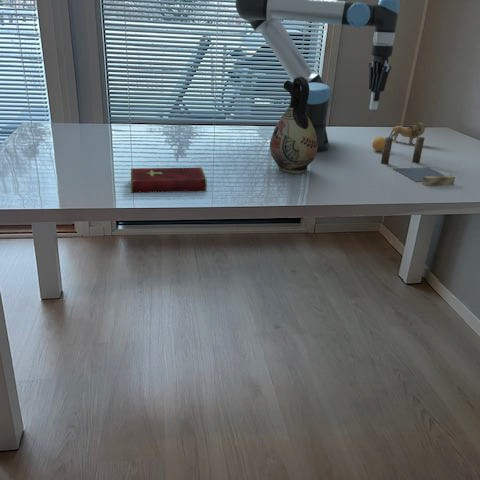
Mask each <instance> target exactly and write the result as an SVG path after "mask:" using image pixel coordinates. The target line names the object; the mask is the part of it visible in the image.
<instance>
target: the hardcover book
mask: <svg viewBox="0 0 480 480" xmlns="http://www.w3.org/2000/svg"><path fill="white" fill-rule="evenodd" d="M207 183H208V180H207V177H206V175H205V172H204V169H203V167H201V166H198V167H154V168H153V167H147V168H145V167H144V168H142V167H141V168H140V167H138V168H137V167H134V168H132V167H131V168H130V191H131V192H130V193H131V194H135V193H136V194H137V193H142V194H143V193H173V192H174V193H175V192H176V193H177V192H178V193H180V192H182V193H183V192H187V193H188V192H207V190H208V186H207V185H208V184H207Z"/></svg>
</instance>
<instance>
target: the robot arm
mask: <svg viewBox="0 0 480 480" xmlns="http://www.w3.org/2000/svg"><path fill="white" fill-rule="evenodd" d="M400 4H401V3H400V0H378V2H377V3H376V4H371V3H370V4H369V3H365V2H360V1H358V2H355V1H354V2H353V1H345V0H235V9H236V11H237V14H238V15H239V17H240V18H241V19H242V20H244V21H247V22H248V24H249V25H250V26H251V28H252V29H253V31H254V32H255V33H259V34H261V36H262V37H263V39H264V40H265V42H266V43H267V45H268V46H269V48H270V50H271V51H272V53H273V55H274V56H275V57H276V58H277V60H278V62H279V63H280V65H281V67H282V68H283V69H284V72H285V73H286V74H287V76H288V77H289V79H290V80H291V83H293V81H294V79H295V78H297V77H304V78H305V79H306V80H307V82H308V84H309V97H308V101H307V107H306V114H307V116H308V117H309V119H310V121H311V123H312V125H313V127H314V130H315V133H316V137H317V153H319V152H326V151H327V150H328V149H329V145H330V144H329V137H328V132H327V122H328V113H329V107H330V106H331V104H332V101H333V93H332V90H331V87H330V86H329V85H328V84H326V83H325V82H324V81H325V80H323V79H322V77H321V75H320V74H319V72H318V73H317V72H313V70H312V69H311V67H310V65H309V63H308V62H307V61H306V59H305V57H304V56H303V54H302V53H301V51H300V50H299V48H298V47H297V45H296V43H295V41H294V40H293V39H292V37H291V35H290V34H289V32H288V31H287V29H286V28H285V26H284V24H283V23H282V21H281V20H290V21H291V20H292V21H300V22H307V23H308V22H309V23H318V24H320V23H321V24H329V25H337V26H338V25H339V26H346V27H354V28H362V27H369V28H370V27H371V28H373V27H374V31H373V32H374V33H373V39H372V43H373V44H372V45H371V46H372V47H371V52H370V53H371V54H370V55H371V56H373V60H372V62H369V63H368V68H369V69H368V70H369V75H368V77H369V79H368V89H369V90H370V92H371V95H370V102H369V106H368V107H369V110H374V111H375V110H378V107H379V100H380V94H381V92H384V91H385V88H386V85H387V80H388V77H389V74H390V71H391V70H392V65H389V57H391V56H392V54H393V49H394V46H393V45H394V42H395V37H396V30H397V24H398V19H399V15H400V14H399V10H400Z"/></svg>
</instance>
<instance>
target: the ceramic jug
mask: <svg viewBox="0 0 480 480" xmlns="http://www.w3.org/2000/svg"><path fill="white" fill-rule="evenodd" d="M283 89H284V90H285V91H286V92H288V93H289V95H290V101H289V102H290V104H289V106H288V107H287V109H286V111H284V113H283V114H282V116H280V119H279V120H278V121H277V124H276V125H275V127H274V129H273V132H272V134H271V137H270V141H269V142H270V143H269V144H270V145H269V150H270V151H269V152H270V155H271V157H272V159H273V160H274V162H275V163H276V165H277V167H278V170H280V171H281V172H283V173H287V174H302V173H305V172H307V170H308V166H309V165H310V164H312V162H313V161H314V160H315V158H316V156H317V153H318V152H317V137H316V133H315V130H314V127H313V125H312V123H311V121H310V119H309V117H308V116H307V114H306V107H307V101H308V97H309V84H308V82H307V80H306V79H305V78H304V77H297V78H295V79H294V81H293V82H292V81H290V80H288V79H287V80H286V81H285V82H284V83H283Z"/></svg>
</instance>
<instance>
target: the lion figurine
mask: <svg viewBox="0 0 480 480" xmlns="http://www.w3.org/2000/svg"><path fill="white" fill-rule="evenodd" d="M425 130H426V124H424V123H422V122H417V123H415V124H413V125H411V126H410V127H404V126H401V125H396V126H394V127H393V128H392V130H391V131H390V133H389V134H390V135H389V136H388V137H390V138H393V141H394V143H395V144H398V143H399V142H398V140H397V138H398V136H399V135H400V136H402V137H405V138H409V140H408V143H409V146H413V145H414V144H413V141H414V139H417V137H421V136H422V135H423V134H424V133H425Z"/></svg>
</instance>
